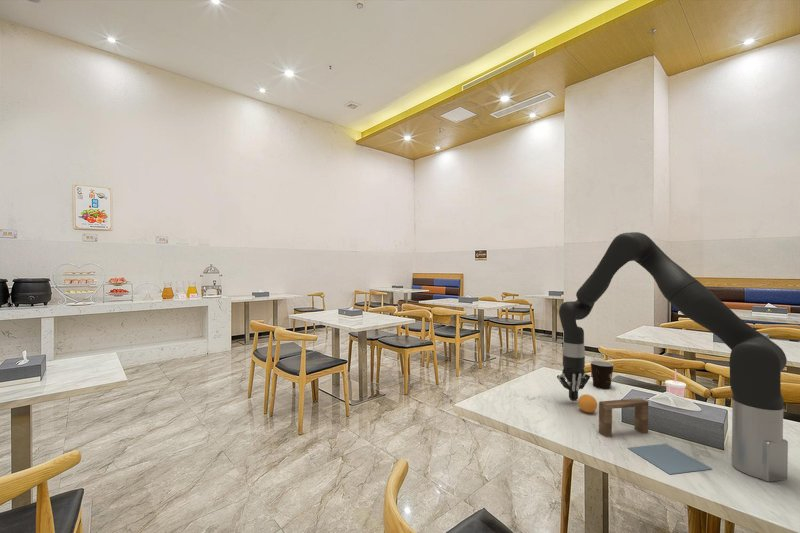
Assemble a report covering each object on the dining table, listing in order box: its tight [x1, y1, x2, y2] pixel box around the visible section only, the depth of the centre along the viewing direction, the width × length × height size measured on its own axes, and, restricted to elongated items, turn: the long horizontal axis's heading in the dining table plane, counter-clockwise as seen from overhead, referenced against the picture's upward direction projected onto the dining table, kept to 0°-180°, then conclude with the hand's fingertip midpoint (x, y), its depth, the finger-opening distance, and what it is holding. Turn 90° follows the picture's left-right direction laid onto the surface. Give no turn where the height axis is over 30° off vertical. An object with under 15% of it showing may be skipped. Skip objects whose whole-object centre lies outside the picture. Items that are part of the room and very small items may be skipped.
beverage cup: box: [664, 368, 687, 399], centre depth 133 cm, size 6×6×14 cm
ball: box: [577, 394, 598, 414], centre depth 128 cm, size 6×6×6 cm
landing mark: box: [627, 443, 713, 476], centre depth 97 cm, size 13×13×1 cm
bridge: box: [598, 397, 649, 438], centre depth 112 cm, size 3×15×10 cm, turn 101°
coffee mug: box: [590, 360, 615, 390], centre depth 154 cm, size 12×9×10 cm
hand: (573, 400), depth 136 cm, fingers closed
